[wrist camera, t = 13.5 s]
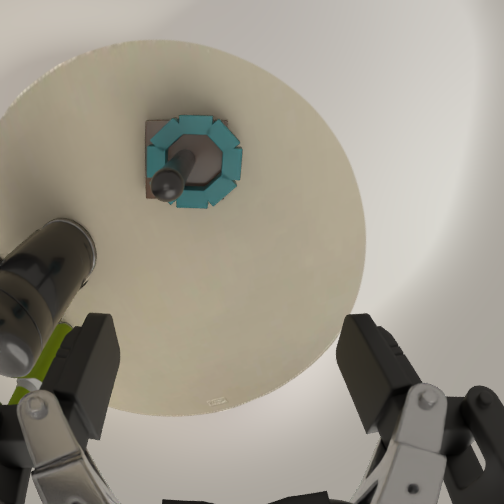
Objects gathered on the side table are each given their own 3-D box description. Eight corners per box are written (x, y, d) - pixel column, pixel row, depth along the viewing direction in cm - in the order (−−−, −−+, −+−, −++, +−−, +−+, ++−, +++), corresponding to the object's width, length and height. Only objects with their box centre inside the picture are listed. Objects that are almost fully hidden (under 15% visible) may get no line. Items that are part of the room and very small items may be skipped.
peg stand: (148, 195, 36) (111, 245, 23) (148, 120, 33) (103, 128, 19) (223, 196, 37) (225, 248, 24) (227, 120, 34) (231, 126, 20)
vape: (43, 326, 43) (-7, 417, 25) (69, 321, 43) (20, 420, 25) (53, 343, 45) (10, 434, 27) (79, 339, 45) (38, 438, 27)
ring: (150, 201, 35) (147, 206, 33) (152, 115, 31) (147, 115, 29) (236, 204, 36) (237, 210, 35) (243, 117, 32) (245, 117, 30)
